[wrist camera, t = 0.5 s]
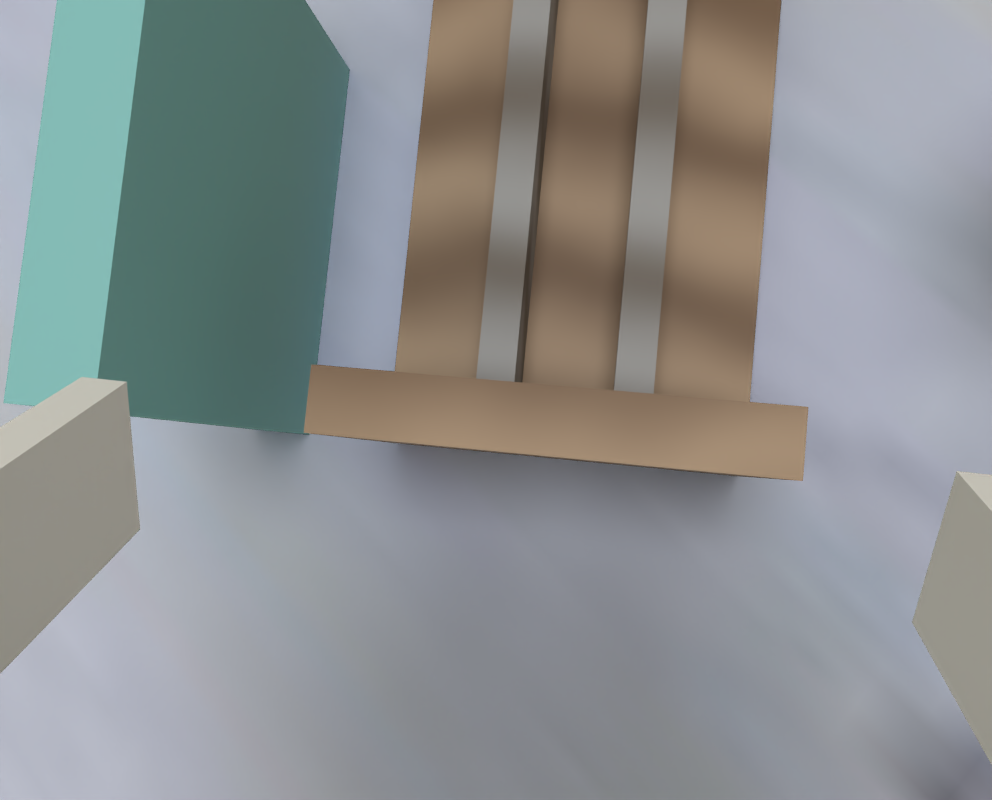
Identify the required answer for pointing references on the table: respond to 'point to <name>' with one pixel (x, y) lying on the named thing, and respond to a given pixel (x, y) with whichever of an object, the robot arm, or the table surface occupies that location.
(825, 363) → the table surface
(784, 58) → the table surface
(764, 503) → the table surface
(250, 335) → the door panel
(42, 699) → the table surface
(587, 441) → the wooden rack
